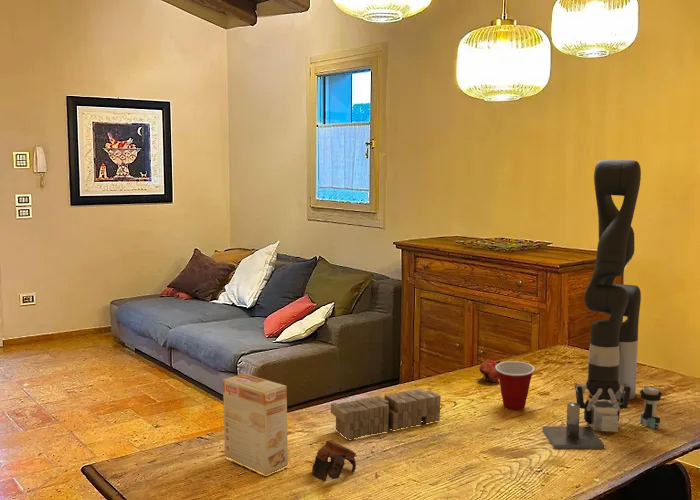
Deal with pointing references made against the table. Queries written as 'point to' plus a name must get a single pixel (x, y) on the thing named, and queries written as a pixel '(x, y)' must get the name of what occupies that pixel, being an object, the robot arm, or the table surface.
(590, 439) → the gray square plate
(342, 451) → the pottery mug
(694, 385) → the table surface
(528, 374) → the plastic cup
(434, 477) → the table surface
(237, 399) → the coffeecake box
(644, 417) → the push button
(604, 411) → the grey hollow block
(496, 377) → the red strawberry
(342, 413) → the block tower
